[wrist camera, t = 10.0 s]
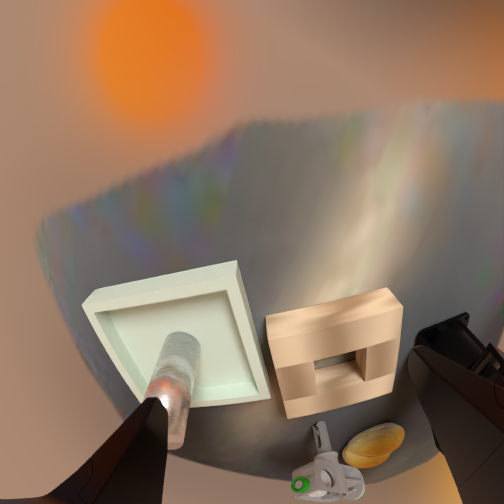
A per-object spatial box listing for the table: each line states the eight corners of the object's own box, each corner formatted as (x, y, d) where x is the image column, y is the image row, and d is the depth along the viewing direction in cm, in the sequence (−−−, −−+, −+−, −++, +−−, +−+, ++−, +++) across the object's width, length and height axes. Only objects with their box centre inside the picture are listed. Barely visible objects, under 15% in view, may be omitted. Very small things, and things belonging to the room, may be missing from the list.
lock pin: (193, 328, 21) (170, 424, 13) (205, 357, 22) (190, 449, 14) (158, 333, 21) (124, 423, 13) (172, 361, 22) (148, 448, 14)
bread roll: (410, 416, 29) (420, 438, 25) (379, 450, 32) (385, 469, 29) (360, 422, 28) (369, 447, 25) (332, 455, 32) (337, 477, 28)
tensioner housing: (386, 287, 21) (403, 306, 18) (381, 371, 25) (391, 391, 22) (265, 315, 22) (267, 340, 19) (284, 395, 25) (287, 419, 22)
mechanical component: (334, 439, 29) (349, 504, 20) (278, 417, 27) (286, 498, 17) (352, 428, 29) (372, 494, 19) (298, 404, 26) (312, 488, 17)
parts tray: (237, 259, 20) (235, 276, 18) (269, 378, 24) (270, 398, 22) (95, 289, 21) (81, 304, 18) (150, 390, 25) (144, 408, 23)
